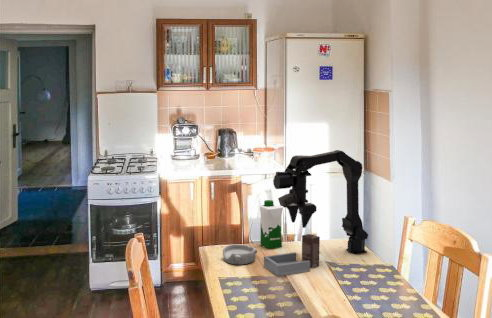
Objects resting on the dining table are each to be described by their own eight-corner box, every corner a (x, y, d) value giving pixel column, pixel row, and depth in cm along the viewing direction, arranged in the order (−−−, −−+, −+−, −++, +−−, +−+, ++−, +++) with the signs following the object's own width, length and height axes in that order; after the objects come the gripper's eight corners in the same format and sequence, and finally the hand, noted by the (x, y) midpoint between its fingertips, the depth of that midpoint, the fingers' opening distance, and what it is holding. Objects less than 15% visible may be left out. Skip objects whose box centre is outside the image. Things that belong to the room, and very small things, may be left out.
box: (319, 265, 223) (320, 236, 222) (311, 268, 221) (312, 238, 219) (308, 262, 228) (309, 233, 226) (300, 264, 225) (301, 235, 224)
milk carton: (274, 242, 257) (274, 199, 254) (285, 247, 249) (285, 202, 246) (257, 244, 253) (257, 201, 250) (267, 250, 245) (267, 205, 242)
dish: (241, 268, 222) (240, 255, 221) (215, 261, 231) (215, 249, 230) (263, 259, 233) (263, 247, 232) (238, 252, 242) (238, 241, 241)
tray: (294, 261, 229) (294, 252, 228) (310, 271, 217) (310, 261, 217) (263, 266, 223) (263, 256, 223) (277, 276, 212) (277, 266, 211)
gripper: (270, 184, 232) (270, 221, 235) (292, 193, 215) (291, 232, 217) (294, 182, 237) (294, 219, 239) (317, 190, 220) (316, 229, 222)
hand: (298, 225), depth 229 cm, fingers open, 9 cm apart
